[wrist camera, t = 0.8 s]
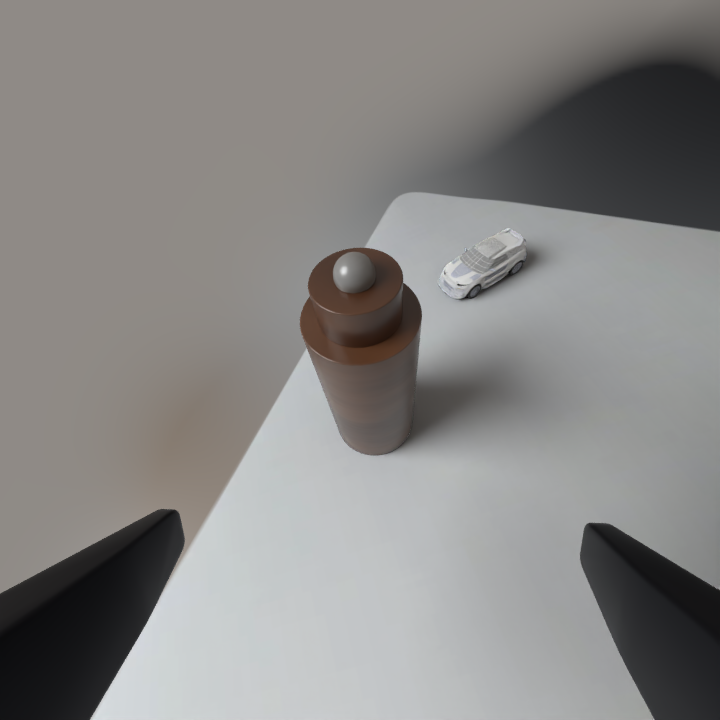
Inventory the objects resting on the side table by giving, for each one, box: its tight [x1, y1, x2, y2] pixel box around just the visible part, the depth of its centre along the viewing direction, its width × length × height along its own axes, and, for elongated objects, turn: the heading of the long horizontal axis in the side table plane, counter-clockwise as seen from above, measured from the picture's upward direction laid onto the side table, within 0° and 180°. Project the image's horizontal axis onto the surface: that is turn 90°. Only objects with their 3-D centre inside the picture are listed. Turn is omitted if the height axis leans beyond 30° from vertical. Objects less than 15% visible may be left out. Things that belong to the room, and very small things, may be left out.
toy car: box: [438, 228, 527, 299], centre depth 29 cm, size 4×8×3 cm, turn 122°
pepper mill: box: [300, 248, 422, 455], centre depth 18 cm, size 5×5×14 cm
